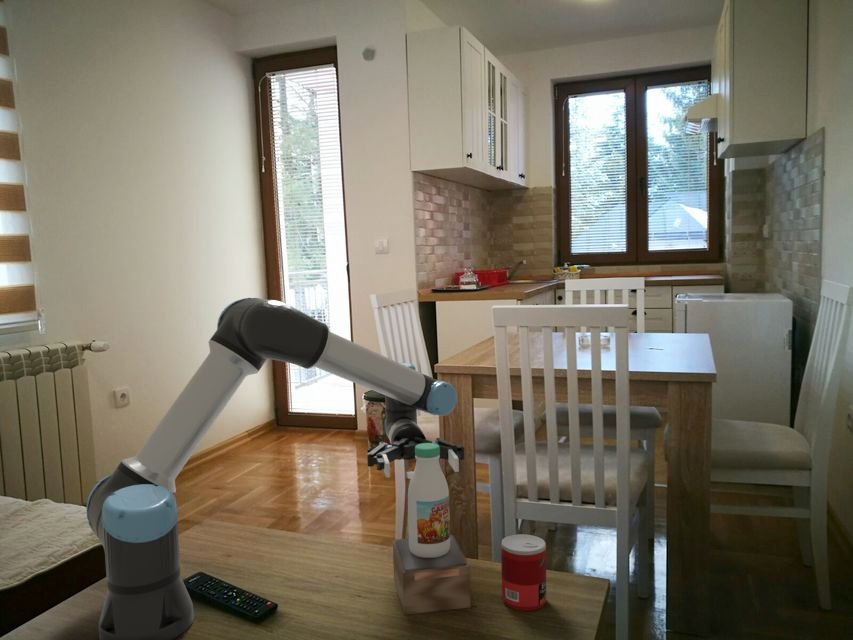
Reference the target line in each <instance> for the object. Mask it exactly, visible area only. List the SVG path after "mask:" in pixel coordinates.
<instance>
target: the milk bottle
mask: <svg viewBox="0 0 853 640" xmlns="http://www.w3.org/2000/svg"><path fill="white" fill-rule="evenodd" d="M415 458H416V459H415V460H416V462H415V467H414V471H413V473H412V476H410V477H411V478H410V480H409V483H408V490H407V521H408V523H407V525H408V527H407V528H408V538H409V550H410V552H411V553H412V554H413V555H415V556H417V557H421V558H437V557H441V556H443V555H445V554H447V553H448V552H449V549H450V534H451V519H450V518H451V517H450V515H451V514H450V512H451V511H450V493H449V492H450V490H449V485H448V482H447V479H446V477H445V474H444V473H443V471H442V468H441V464H440V461H439V460H440V459H441V458H440V447H439V445H437V444H434V443H422V444H418V445H416V446H415Z"/></svg>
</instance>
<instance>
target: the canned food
mask: <svg viewBox="0 0 853 640" xmlns="http://www.w3.org/2000/svg"><path fill="white" fill-rule="evenodd" d="M546 545H547V544H546V542H545V540H544V539H542V538H541V537H539V536H536V535H532V534H524V533H523V534H521V533H520V534H512V535H508V536H505V537H504V538H502V539H501V545H500V547H501V548H500V549H501V550H500V553H501V555H500V557H501V558H500V560H501V561H500V563H501V564H500V565H501V598H502V599H503V600H502V601H503V602H504V604H505V605H506V606H508V607H509V608H511V609H513V610H516V611H521V612H522V611H524V612H530V611H535V610H539V609H541V608H543V606H545V604H546V601H547V546H546Z"/></svg>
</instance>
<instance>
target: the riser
mask: <svg viewBox="0 0 853 640" xmlns="http://www.w3.org/2000/svg"><path fill="white" fill-rule="evenodd" d="M392 553H393V555H392V556H393V557H392V560H393V563H392V564H393V579H394V583H395V586H396V591H397V594H398V597H399V602H400V605H401V608H402V613H403V615H404V616H405V615H414V614H415V615H416V614H423V613H432V612H440V611H447V610H448V611H449V610H455V609H456V610H459V609H465V608H466V609H467V608H471V607H472V606H471V568H470V567H471V566H470V564H469V561H468V560H467V559H466V557H465V555H464V553H463V551H462V549H461V547H460V545H459V544H458V542H457V540H456V538H455V536H454V534H451V533H450V549H449V552H448V553H447V554H445V555H443V556H441V557H437V558H421V557H417V556H415V555H413V554H412V553H411V552H410V550H409V537H408V538H407V537H406V538H400V539H394V540H392Z"/></svg>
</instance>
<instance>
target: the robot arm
mask: <svg viewBox="0 0 853 640" xmlns="http://www.w3.org/2000/svg"><path fill="white" fill-rule="evenodd" d="M216 325H217V327H216V331H215V332H214V333H213V335H212V336H211V338H210V339H209V340H208V346H209V353H208V355H207V356H206V358H205V359H204V360H203V362H202V363H201V365H200V366H198V368H197V369H196V371H195V373H194V374H193V375H192V377H191V378H190V380H188V383H187V384H186V385H185V387H184V388H183V390H182V391H181V392H180V394H179V395H178V396H177V398H176V399H175V400H174V402H173V403H172V405H171V406H170V407H169V409H168V410H167V412H166V413H165V415H164V416H163V417H162V418H161V419H160V422H158V424H157V426H155V428H154V430H153V431H152V433H151V434H150V435H149V437H147V440H146V441H145V442H144V444H142V446H141V448H140V449H139V451H138V452H137V453H136V455H134V456H132V457H128V458H125V459H122V460H121V461H120V463H119V464H118V466H117V467H116V468H115V470H114V471H113V472H112V474H110V475H107V476H105V477H103V478H102V479H101V480H99V481H98V482H97V483H96V484H95V485H94V487H93V488H91V489H92V490H91V491H90V492H89V495H88V497H87V501H86V506H85V507H86V518H87V521H88V525H89V527H90V529H91V531H92V532H93V533H94V534H95V535H96V536H97V537H96V538H97V539H98V540H99V542H100V543H101V546H103V550H104V555H105V556H104V558H105V571H106V572H105V573H106V583H107V587H106V588H107V590H106V591H107V592H106V595H105V596H106V597H105V599H104V603H103V606H102V611H101V614H100V617H99V621H98V638H99V639H98V640H174V639H176V638H177V637H179V636H181V635H182V634H184V633H185V632H186V631H187V630H188V629H189V628H190V627H191V625H192V624H193V622H194V618H195V615H194V605H193V601H192V598H191V596H190V593H189V592H188V590H187V588H186V585H185V583H184V580H183V578H182V575H181V559H180V541H179V525H178V524H179V522H178V517H179V509H178V505H177V501H176V497H175V493H176V492H177V488H176V482H175V481H176V478H177V477H178V475H179V474H180V472H181V471H182V470H183V468H184V467H185V466H186V464H187V462H188V461H189V459H190V458H191V456H192V455H193V453H194V452H195V451H196V449H197V448H198V446H199V445H200V443H201V442H202V441H203V439H204V438H205V437H206V435H207V434H208V432H209V430H210V429H211V428H212V426H213V425H214V423H215V422H216V420H217V419H218V417H219V416H220V415H221V413H222V411H223V410H224V409H225V407H227V404H228V403H229V402H230V400H231V399H232V398H233V396H234V394H235V393H236V392H237V390H238V389H239V387H240V386H241V384H242V383H243V381H244V380H245V379H246V377H248V376H250V375H256V374H258V373H259V372H260V371H261V368H262V367H263V366H264V364H265V363H266V361H268V360H274V361H277V362H278V361H279V362H284V363H288V364H291V365H292V364H293V365H295V366H298V367H301V368H303V369H307V370H310V369H312V368H317V369H320V370H322V371H324V372H327V373H330V374H332V375H335V377H339V378H342V379H345V380H347V381H349V382H352V383H354V384H357V385H359V386H362V387H364V388H366V389H368V390H371V391H374V392H376V393H378V394H382V395H384V400H385V401H384V402H385V419H384V424H383V426H384V433H385V434H386V436H387V438H388V440H389V443H390V444H388V443H387V442H385V441H380V442H379V443H378V445H377V446H376V447H374V448H373V449H372V450H370V451H369V452H367V456H366V457H367V466H368V467H374V466H375V465H376V470H377V471H383V472H384V475H385V478H386V479H387V478H391V467H390V466H391V464H390V463H392V462H394V461H397V460H398V461H400V460H404V461H413V460H416V458H415V446H416V445H418V444H422V443H434V444H437V445H439V447H440V458H439V459H442V460H445V461H448V464H449V466H450V467H451V468H452V470H453V472H455V473H457V472H459V473H460V467H459V466H460V464H461V461H462V460H463V461H464V460H465V446H461V445H459V444H456V443H453V442H450V441H446V440H444V439H442V438H441V437H436V439H435V440H434V441H432V440H428V439H427V438H426V436H425V434H424V433H423V431H422V430H421V427H420V426H419V425H418V413H417V412H418V411H421V412H424V413H427V414H431V415H433V416H440V417H444V416H448V415H449V414H451V413H452V412H453V410H455V407H456V405H457V402H458V393H457V390H456V388H455V387H454V386H453V385H452V384H451V383H449V382H446V381H444V380H443V379H442V380H438V379H435V378H433V377H431V376H429V375H426V374H423V373H421V372H420V371H418V370H416V367H415V364H412V363H405V362H404V363H401V362H398V361H395V360H394V359H391V358H389V357H386V356H384V355H383V354H380V353H379V352H375V351H373V350H371V349H369V348H367V347H365V346H363V345H360V344H359V343H355V342H354V341H351V340H349V339H347V338H344V337H343V336H340V335H338V334H336V333H333V332H331V331H330V328H329V326H328V324H326V323H324V322H322V321H321V320H320V321H319V320H318V319H315V318H313V316H310V315H309V314H306V313H305V312H303V311H301V310H300V309H297V308H295V307H294V306H292V305H290V304H288V303H286V302H283V301H279V300H276V299H275V300H274V299H262V298H260V297H259V298H258V297H244V298H241V299H237V300H234V301H233V302H231V303H230V304H228V305H226V307H225V308H224V309H223V310H222V311H221V313H220V314H219V317H218V320H217V324H216Z"/></svg>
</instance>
